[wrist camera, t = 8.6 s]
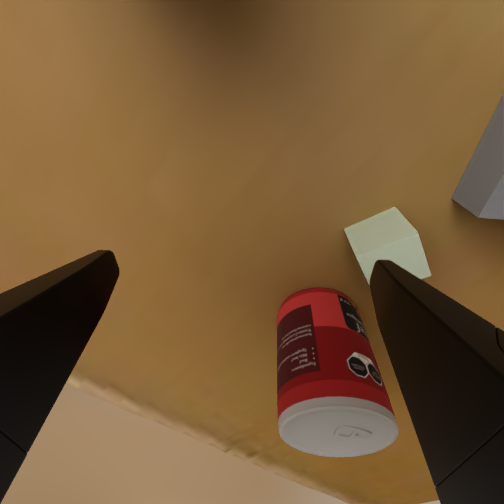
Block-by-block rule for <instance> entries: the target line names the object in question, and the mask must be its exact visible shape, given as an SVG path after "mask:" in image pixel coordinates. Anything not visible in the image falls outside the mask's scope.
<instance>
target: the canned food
mask: <svg viewBox="0 0 504 504" xmlns="http://www.w3.org/2000/svg"><path fill="white" fill-rule="evenodd" d="M277 407H278V425H279V433H280V437H281V438H282V439H283V441H285V442H286V443H287V444H288V445H290V446H292V447H294V448H295V449H298V450H300V451H303V452H306V453H310V454H314V455H319V456H327V457H354V456H361V455H366V454H370V453H374V452H377V451H379V450H381V449H384V448H386V447H387V446H389V445H390V444H392V443H393V442H394V441H395V440H396V438H397V436H398V433H399V432H398V427H397V423H396V419H395V415H394V412H393V410H392V407H391V403H390V400H389V397H388V394H387V391H386V388H385V386H384V383H383V380H382V377H381V374H380V371H379V369H378V366H377V363H376V360H375V357H374V354H373V352H372V349H371V346H370V343H369V340H368V337H367V335H366V332H365V329H364V326H363V323H362V320H361V318H360V315H359V312H358V310H357V308H356V306H355V305H354V304H353V303H352V301H351V300H350V299H349V298H348V297H347V296H345V295H344V294H342V293H340V292H338V291H335V290H332V289H327V288H310V289H305V290H302V291H299V292H296V293H294V294H293V295H291V296H289V297H288V298H287V299H286V300H285V301H284V302H283V304H282V305H281V308H280V310H279V313H278V316H277Z"/></svg>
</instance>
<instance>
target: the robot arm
mask: <svg viewBox="0 0 504 504" xmlns="http://www.w3.org/2000/svg"><path fill="white" fill-rule="evenodd" d="M118 277H119V267H118V264H117V261H116V259H115V256H114V253H113V252H112V251H110V250H98V251H96V252H93V253H91V254H89V255H87V256H84V257H82V258H80V259H78V260H75V261H73V262H71V263H69V264H66V265H64V266H62V267H60V268H57V269H55V270H53V271H51V272H48V273H46V274H44V275H42V276H39V277H37V278H35V279H33V280H30V281H28V282H26V283H24V284H21V285H19V286H17V287H15V288H12V289H10V290H8V291H6V292H3V293H1V294H0V503H1V501H2V500H3V498H4V496H5V494H6V492H7V490H8V489H9V487H10V485H11V483H12V481H13V479H14V478H15V476H16V474H17V472H18V470H19V468H20V467H21V465H22V463H23V461H24V459H25V457H26V455H27V452H28V451H29V450H30V448H31V446H32V444H33V442H34V440H35V438H36V437H37V435H38V433H39V431H40V429H41V427H42V426H43V424H44V422H45V420H46V418H47V416H48V414H49V413H50V411H51V409H52V407H53V405H54V403H55V402H56V400H57V398H58V396H59V394H60V392H61V391H62V389H63V387H64V385H65V383H66V381H67V380H68V378H69V376H70V374H71V372H72V370H73V368H74V367H75V365H76V363H77V361H78V359H79V357H80V356H81V354H82V352H83V350H84V348H85V346H86V344H87V343H88V341H89V339H90V337H91V335H92V333H93V332H94V330H95V328H96V326H97V324H98V322H99V321H100V319H101V317H102V315H103V313H104V311H105V308H106V306H107V304H108V301H109V299H110V296H111V294H112V291H113V289H114V287H115V284H116V282H117V279H118ZM369 284H370V290H371V294H372V299H373V304H374V308H375V313H376V317H377V321H378V325H379V329H380V332H381V335H382V337H383V340H384V343H385V346H386V349H387V352H388V354H389V357H390V360H391V363H392V366H393V369H394V372H395V374H396V377H397V380H398V383H399V386H400V389H401V391H402V394H403V397H404V400H405V403H406V406H407V408H408V411H409V414H410V417H411V420H412V423H413V426H414V428H415V431H416V434H417V437H418V440H419V443H420V445H421V448H422V451H423V454H424V457H425V460H426V463H427V465H428V468H429V471H430V474H431V477H432V480H433V482H434V485H435V486H436V492H437V494H438V497H439V500H440V503H441V504H504V331H502V330H501V329H499V328H495V326H494V325H493V324H491V323H490V322H488V321H486V320H485V319H483V318H482V317H480V316H478V315H477V314H475V313H474V312H472V311H470V310H469V309H467V308H466V307H464V306H462V305H461V304H459V303H458V302H456V301H455V300H453V299H451V298H450V297H448V296H447V295H445V294H443V293H442V292H440V291H439V290H437V289H435V288H434V287H432V286H431V285H429V284H427V283H426V282H424V281H423V280H421V279H419V278H418V277H416V276H415V275H413V274H412V273H410V272H408V271H407V270H405V269H404V268H402V267H400V266H399V265H397V264H396V263H394V262H392V261H391V260H377V261H376V262H375V264H374V267H373V270H372V273H371V277H370V281H369Z"/></svg>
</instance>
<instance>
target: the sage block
mask: <svg viewBox="0 0 504 504" xmlns="http://www.w3.org/2000/svg"><path fill="white" fill-rule="evenodd" d="M344 231H345V233H346V235H347V238H348V240H349V242H350V245H351V247H352V249H353V251H354V254H355V256H356V258H357V260H358V262H359V264H360V267H361V269H362V271H363V273H364V275H365V277H366V279H367V281H368V283H369V281H370V277H371V273H372V270H373V267H374V264H375V262H376V261H377V260H391V261H392V262H394V263H396V264H397V265H399V266H400V267H402V268H404V269H405V270H407V271H408V272H410V273H412V274H413V275H415V276H416V277H418V278H419V279H423V278H426V277H429V276H431V272H430V269H429V266H428V263H427V260H426V257H425V253H424V250H423V247H422V244H421V241H420V237H419V234H418V232H417V231H416V230H415V228H414V227H413V226H412V225H411V224H410V223H409V222H408V220H407V219H406V218H405V217H404V216H403V215H402V214H401V213H400V211H399V210H398V209H397V208H396V207H392V208H390V209H388V210H386V211H383V212H381V213H379V214H376V215H374V216H372V217H370V218H367V219H365V220H363V221H360V222H358V223H356V224H354V225H351V226H349V227H347V228H344ZM369 285H370V284H369Z"/></svg>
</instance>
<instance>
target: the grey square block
mask: <svg viewBox="0 0 504 504" xmlns="http://www.w3.org/2000/svg"><path fill="white" fill-rule="evenodd" d="M452 199H453V200H455V201H456V202H457V203H459V204H460V205H461V206H463V207H464V208H465V209H467V210H468V211H470V212H471V213H472V214H474V215H475V216H476V217H478V218H490V219H503V220H504V94H503V96H502V98H501V100H500V102H499V104H498V106H497V108H496V110H495V112H494V114H493V116H492V118H491V120H490V122H489V124H488V126H487V128H486V130H485V132H484V134H483V136H482V138H481V140H480V142H479V144H478V146H477V148H476V150H475V152H474V154H473V156H472V158H471V160H470V162H469V164H468V166H467V168H466V170H465V172H464V174H463V176H462V178H461V180H460V182H459V184H458V186H457V188H456V190H455V192H454V194H453V196H452Z"/></svg>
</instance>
